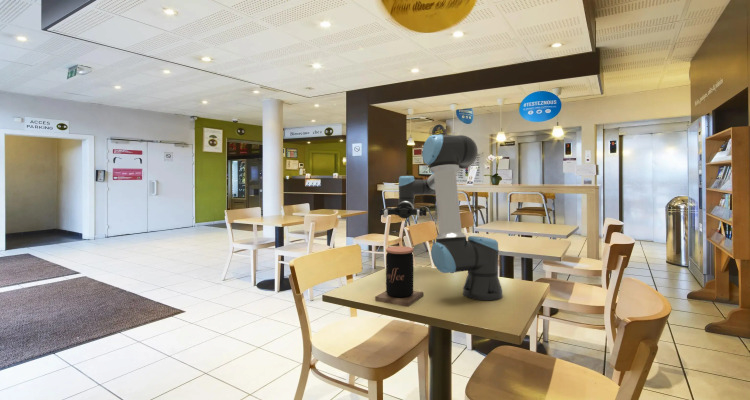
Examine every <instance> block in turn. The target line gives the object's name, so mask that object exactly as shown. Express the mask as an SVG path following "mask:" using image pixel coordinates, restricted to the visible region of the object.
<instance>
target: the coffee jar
mask: <svg viewBox="0 0 750 400" xmlns="http://www.w3.org/2000/svg"><path fill="white" fill-rule="evenodd" d="M385 252H386V254H385V280H386V281H385V284H386V285H385V291H386V292H387V294H388V295H389V296H390V297H394V298H406V297H410V296H411V295H412V293H413V291H414V255H413V252H414V248H413V247H409V246H402V245H401V246H400V245H397V246H396V245H395V246H389V247H386V248H385Z"/></svg>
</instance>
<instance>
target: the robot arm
mask: <svg viewBox="0 0 750 400" xmlns="http://www.w3.org/2000/svg"><path fill="white" fill-rule="evenodd" d="M478 150H479V149H478V146H477V144H476V142H475V141H474V140H473V139H472V138H471V137H469V136H467V135H463V134H459V135H457V134H456V135H455V134H441V133H439V134H432V135H430V136H428V137H427V138H426V140H425V142H424V143H423V147H422V153H421V154H422V155H421V156H422V160H423V163H424V164H425V165H427V166H428V168H429V171H430V172H431V173H432V174H431V175H430V176H429V177H427V179H415V177H414V176H413V175H401V176H399V177H398V205H397V206H396V207H394V208H393V207H388V208H382V209H381V208H380V209H379V216H383V218H387V217H388V216H393V215H394V216H398V217H399V218H401V219H404V220H405V219H408V218H409V219H410V217H411V216H416V218H419V219H420V217H422V216H424V217H426V216H427V209H425V208H424V209H423V207H417V208H415V207H416V206H415V196H425V195H426V196H429V195H430V196H431V195H432V196H435V201H436V212H437V223H438V224H437V225H438V235H437V236H436V238H435V242H434V243H433V244H432V245H431V250H430V257H431V260H432V262H433V265H434V267H435V268H436V269H437V270H438V271H439V272H440V273H444V274H448V273H450V274H454V273H460V272H467V276H466V279H465V282H464V284H463V287H462V290H463V291H462V294H463V296H464V297H466V298H469V299H472V300H478V301H496V300H500V299H502V298H503V289H502V286H501V282H500V280H499V252H500V249H499V243H498V241H497V240H496V239H493V238H491V237H490V238H489V237H484V236H483V237H482V236H475V235H469V236H468V237H467V235H466V234H465V233H464V232H463V231H462V221H461V214H460V213H461V212H460V203H459V192H458V183H457V182H458V181H457V174H458V173H460V172H461V171H462V170H465V169H467V168H470V166H472V165H473V164H474V163H475V161H476V159H477V157H478Z"/></svg>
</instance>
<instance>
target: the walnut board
mask: <svg viewBox="0 0 750 400" xmlns="http://www.w3.org/2000/svg"><path fill="white" fill-rule="evenodd" d="M422 297H424V292H423V291H417V290H413V293H412V295H411V296H410V297H406V298H394V297H390V296H389V295H388V294H387V292H386V290H385V291H383V292H381V293H379V294H377V295H376V296H374V300H375V301H376V302H382V303H388V304H393V305H397V304H398V305H399V306H403V307H409V306H411V305H413V304H414V303H416V302H417V301H418V300H419V299H421V298H422ZM398 305H397V306H398Z"/></svg>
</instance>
